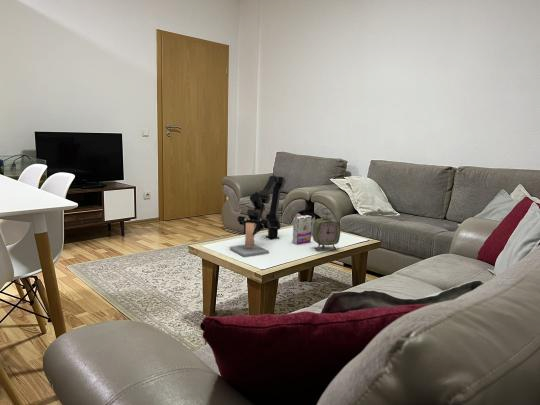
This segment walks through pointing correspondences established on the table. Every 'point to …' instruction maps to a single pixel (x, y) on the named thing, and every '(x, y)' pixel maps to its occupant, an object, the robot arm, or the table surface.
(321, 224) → the tabletop clock
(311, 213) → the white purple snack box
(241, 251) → the slate board
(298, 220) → the candy bar box
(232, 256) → the table surface
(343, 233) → the table surface
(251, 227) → the terracotta canister
